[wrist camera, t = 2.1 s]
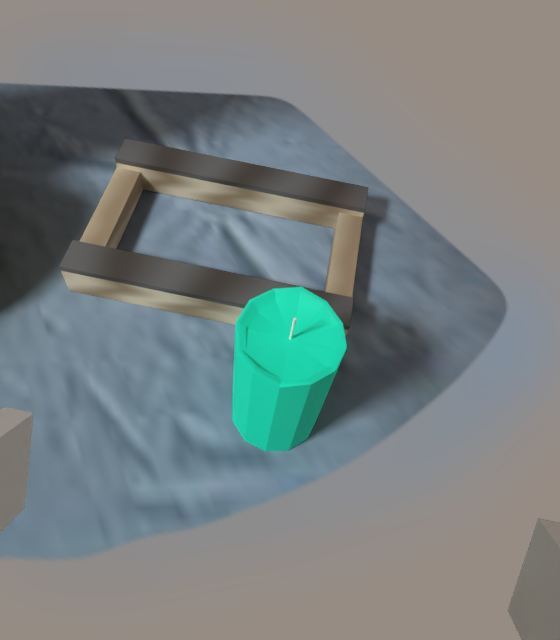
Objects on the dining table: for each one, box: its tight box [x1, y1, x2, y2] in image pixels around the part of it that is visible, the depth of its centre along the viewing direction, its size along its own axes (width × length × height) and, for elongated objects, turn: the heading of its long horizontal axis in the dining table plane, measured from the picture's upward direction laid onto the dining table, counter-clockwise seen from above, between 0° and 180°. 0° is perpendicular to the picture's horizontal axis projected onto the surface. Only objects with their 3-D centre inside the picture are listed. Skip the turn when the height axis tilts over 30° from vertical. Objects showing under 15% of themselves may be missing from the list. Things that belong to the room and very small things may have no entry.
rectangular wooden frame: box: [59, 138, 368, 338], centre depth 42 cm, size 21×14×3 cm, turn 79°
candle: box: [232, 287, 347, 451], centre depth 32 cm, size 6×6×12 cm
